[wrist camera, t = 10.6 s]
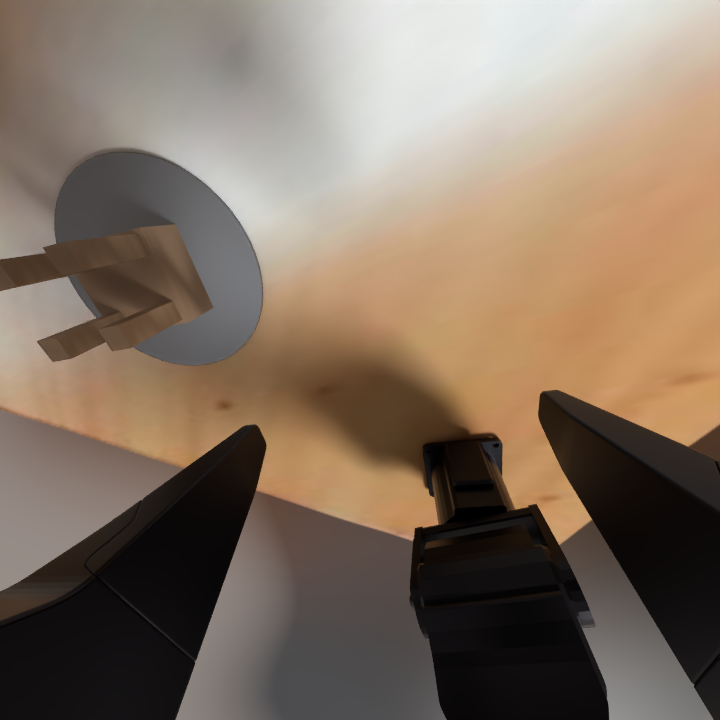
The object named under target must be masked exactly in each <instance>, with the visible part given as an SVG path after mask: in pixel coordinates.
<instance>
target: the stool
mask: <svg viewBox="0 0 720 720" xmlns="http://www.w3.org/2000/svg"><path fill="white" fill-rule="evenodd" d="M43 249H44V250H45V252H46V253H44V254H37V255H30V256H23V257H16V258H9V259H1V260H0V291H2V290H7V289H11V288H16V287H21V286H25V285H30V284H34V283H39V282H43V281H48V280H52V279H57V278H61V277H66V276H70V275H75V276H76V277H77V279H78V280H79V282H80V283H81V285H82V287H83V288H84V290H85V291H86V293H87V294H88V296H89V297H90V299H91V300H92V302H93V303H94V305H95V307H96V308H97V310H98V311H99V313H100V314H101V317H99V318H96V319H94V320H91V321H88V322H86V323H83V324H81V325H78V326H75V327H73V328H70V329H68V330H65V331H63V332H60V333H57V334H55V335H52V336H50V337H47V338H44V339H42V340H39V341H37V342H38V344H39V345H40V346H41V347H42V349H43V350H44V351H45V353H46V354H47V355H48V356H49V358H50V359H51V360H52V361H53V362H55V361H61V360H66V359H71V358H73V357H75V356H78V355H80V354H82V353H84V352H86V351H88V350H90V349H92V348H94V347H96V346H98V345H100V344H102V343H104V342H106V343H107V344H108V346H109V347H110V349H111V350H112V351H116V350H121V349H127V348H132V347H134V346H136V345H138V344H139V343H141V342H143V341H145V340H147V339H148V338H150V337H152V336H154V335H156V334H157V333H159V332H161V331H163V330H165V329H166V328H168V327H170V326H173V325H178V324H184V323H188V322H190V321H192V320H193V319H195V318H197V317H199V316H200V315H202V314H204V313H205V312H207V311H209V310H211V309H212V308H214V307H213V305H212V303H211V301H210V298H209V296H208V294H207V292H206V290H205V287H204V285H203V283H202V281H201V279H200V277H199V274H198V272H197V270H196V268H195V266H194V263H193V261H192V259H191V257H190V255H189V253H188V250H187V248H186V246H185V244H184V242H183V239H182V237H181V235H180V233H179V231H178V229H177V226H176V224H172V225H161V226H150V227H139V228H135V229H132V230H128V231H124V232H120V233H117V234H113V235H109V236H105V237H102V238H93V239H84V240H75V241H66V242H62V243H58V244H55V245H51V246H47V247H43Z"/></svg>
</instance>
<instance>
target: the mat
mask: <svg viewBox="0 0 720 720" xmlns="http://www.w3.org/2000/svg"><path fill="white" fill-rule="evenodd" d="M172 224H176V226H177V229H178V231H179V233H180V235H181V237H182V239H183V242H184V244H185V246H186V248H187V250H188V253H189V255H190V257H191V259H192V261H193V263H194V266H195V268H196V270H197V272H198V274H199V277H200V279H201V281H202V283H203V285H204V287H205V290H206V292H207V294H208V296H209V298H210V301H211V303H212V305H213V307H214V308H212V309H211V310H209V311H207V312H205V313H204V314H202V315H200V316H199V317H197V318H195V319H193V320H192V321H190V322H188V323H184V324H178V325H173V326H170V327H168V328H166V329H165V330H163V331H161V332H159V333H157V334H156V335H154V336H152V337H150V338H148V339H147V340H145V341H143V342H141V343H139V344H138V345H136V346H134V348H135V349H137V350H139V351H141V352H143V353H145V354H147V355H149V356H151V357H154V358H157V359H160V360H162V361H166V362H170V363H174V364H181V365H206V364H211V363H215V362H218V361H221V360H223V359H226V358H227V357H229V356H231V355H232V354H234V353H235V352H236V351H238V350H239V349H240V348H241V347H242V346H243V345H244V344H245V343H246V342H247V341H248V340H249V338H250V337H251V335H252V334H253V332H254V330H255V329H256V326H257V324H258V321H259V319H260V314H261V310H262V303H263V283H262V277H261V271H260V267H259V263H258V260H257V257H256V254H255V251H254V249H253V246H252V244H251V242H250V240H249V238H248V236H247V234H246V232H245V230H244V229H243V227H242V225H241V224H240V222H239V221H238V219H237V218H236V217H235V215H234V214H233V212H232V211H231V210H230V209H229V207H228V206H227V205H226V204H225V203H224V202H223V201H222V199H221V198H220V197H219V196H218V195H217V194H216V193H214V192H213V191H212V190H211V189H210V188H209V187H208V186H207V185H206V184H204V183H203V182H202V181H200V180H199V179H198V178H196V177H195V176H194V175H192V174H190V173H189V172H187V171H185V170H184V169H182V168H180V167H179V166H176V165H174V164H172V163H169V162H167V161H165V160H162V159H159V158H155V157H152V156H148V155H144V154H138V153H130V152H113V153H107V154H103V155H98V156H96V157H94V158H91V159H89V160H87V161H85V162H84V163H82V164H81V165H80V166H78V167H77V168H76V169H75V170H74V171H73V172H72V173H71V174H70V175H69V177H68V178H67V179H66V181H65V183H64V185H63V186H62V188H61V190H60V193H59V196H58V199H57V203H56V209H55V235H56V242H57V244H58V243H62V242H66V241H75V240H84V239H93V238H102V237H105V236H109V235H113V234H117V233H120V232H124V231H128V230H132V229H135V228H139V227H150V226H161V225H172ZM68 277H69V279H70V281H71V283H72V285H73V286H74V288H75V290H76V291H77V293H78V295H79V296H80V297H81V299H82V300H83V302H84V303H85V304H86V306H87V307H88V308H89V309H90V311H91V312H92V313H93V314H94V315H95V316H96V318H99V317H101V314H100V313H99V311H98V310H97V308H96V307H95V305H94V303H93V302H92V300H91V299H90V297H89V296H88V294H87V293H86V291H85V290H84V288H83V287H82V285H81V283H80V282H79V280H78V279H77V277H76V276H75V275H70V276H68Z"/></svg>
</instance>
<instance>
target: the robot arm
mask: <svg viewBox="0 0 720 720" xmlns="http://www.w3.org/2000/svg"><path fill="white" fill-rule="evenodd" d="M538 417H539V421H540V423H541V425H542V428H543V430H544V432H545V434H546V436H547V438H548V441H549V443H550V445H551V447H552V449H553V451H554V454H555V456H556V458H557V460H558V462H559V464H560V466H561V468H562V470H563V472H564V474H565V475H566V477H567V479H568V480H569V482H570V484H571V485H572V487H573V489H574V490H575V492H576V493H577V495H578V497H579V498H580V500H581V502H582V503H583V505H584V507H585V508H586V510H587V512H588V513H589V515H590V516H591V518H592V520H593V521H594V523H595V525H596V526H597V528H598V530H599V531H600V533H601V535H602V536H603V538H604V539H605V541H606V543H607V544H608V546H609V548H610V549H611V551H612V553H613V554H614V556H615V558H616V559H617V561H618V562H619V564H620V565H621V567H622V569H623V571H624V572H625V574H626V575H627V577H628V579H629V580H630V582H631V584H632V585H633V587H634V589H635V590H636V592H637V593H638V595H639V596H640V599H641V600H642V602H643V604H644V605H645V607H646V608H647V610H648V612H649V613H650V615H651V617H652V618H653V620H654V622H655V623H656V625H657V627H658V628H659V630H660V631H661V633H662V635H663V636H664V638H665V640H666V641H667V643H668V645H669V646H670V648H671V649H672V651H673V653H674V654H675V656H676V658H677V659H678V661H679V663H680V664H681V666H682V667H683V669H684V671H685V672H686V674H687V676H688V677H689V679H690V681H691V682H692V683H693V684H695V685H694V688H695V689H696V691H697V693H698V694H699V696H700V698H701V699H702V701H703V703H704V704H705V706H706V708H707V709H708V711H709V712H710V714H711V716H712V717H713V719H714V720H720V461H719V460H717V461H715V459H714V458H712V457H710V456H708V455H706V454H703V453H701V452H699V451H697V450H694V449H692V448H690V447H687V446H685V445H683V444H681V443H678V442H676V441H674V440H671V439H669V438H667V437H664V436H662V435H660V434H658V433H655V432H653V431H651V430H648V429H646V428H644V427H642V426H639V425H637V424H635V423H632V422H630V421H628V420H626V419H623V418H621V417H619V416H616V415H614V414H612V413H609V412H607V411H605V410H603V409H600V408H598V407H596V406H593V405H591V404H589V403H587V402H584V401H582V400H580V399H577V398H575V397H573V396H571V395H568V394H566V393H564V392H561V391H559V390H550V391H543V392H542V393H541V394H540V399H539V411H538ZM495 443H497V444H495ZM422 449H423V456H424V462H425V469H426V475H427V482H428V488H429V494H430V496H432V497H434V498H435V504H436V510H437V517H438V523H439V525H435V526H430V527H425V528H423V527H418V528H415V535H414V539H413V552H412V565H411V579H410V592H411V593H410V605H411V607H412V608H413V610H414V611H415V612H416V616H417V620H418V623H419V626H420V629H421V631H422V633H423V635H424V637H425V638H426V639H427V640H428V641H429V642H430V647H431V651H432V657H433V663H434V670H435V676H436V683H437V690H438V696H439V702H440V706H441V709H442V711H443V713H444V715H445V717H446V719H447V720H609V708H608V701H607V690H606V685H605V682H604V679H603V677H602V674H601V672H600V670H599V667H598V665H597V663H596V660H595V658H594V656H593V653H592V651H591V649H590V646H589V644H588V642H587V639H586V637H585V635H584V632H583V630H582V628H590V627H595V623H594V620H593V617H592V614H591V612H590V610H589V607H588V604H587V602H586V600H585V597H584V595H583V593H582V591H581V588H580V586H579V584H578V582H577V580H576V578H575V575H574V573H573V571H572V569H571V567H570V565H569V563H568V561H567V559H566V557H565V555H564V554H563V552H562V550H561V548H560V546H559V544H558V542H557V541H556V539H555V537H554V535H553V533H552V532H551V530H550V528H549V526H548V524H547V522H546V521H545V519H544V517H543V515H542V513H541V511H540V510H539V508H538V506H537V504H534V505H529V506H528V507H526V508H521V509H516V510H515V508H514V505H513V503H512V500H511V498H510V496H509V493H508V491H507V488H506V486H505V484H504V481H503V479H502V442H501V440H500V439H499V438H484V439H474V440H463V441H452V442H441V443H430V444H425V445H424V446H423V448H422ZM427 449H430V450H427ZM265 452H266V442H265V439H264V437H263V435H262V433H261V431H260V429H259V427H258V426H257V425H255V424H254V425H246V426H243V427H242V428H240V429H239V430H238V431H236V432H235V433H234V434H232V435H231V436H229V437H228V438H227V439H225V440H224V441H222V442H221V443H220V444H218V445H217V446H215V447H214V448H213V449H211V450H210V451H208V452H207V453H206V454H204V455H203V456H202V457H200V458H199V459H197V460H196V461H195V462H193V463H192V464H190V465H189V466H188V467H186V468H185V469H183V470H182V471H181V472H179V473H178V474H177V475H175V476H174V477H172V478H171V479H170V480H168V481H167V482H165V483H164V484H163V485H162V486H160V487H158V488H157V489H156V490H154V491H153V492H151V493H150V494H149V495H147V496H146V497H145V498H144V499H143V500H140V501H139V502H138V503H136V504H135V505H133V506H132V507H131V508H129V509H128V510H126V511H125V512H124V513H122V514H121V515H119V516H118V517H116V518H115V519H113V520H112V521H111V522H109V523H108V524H106V525H105V526H103V527H102V528H100V529H99V530H98V531H96V532H94V533H93V534H91V535H90V536H88V537H87V538H85V539H84V540H82V541H81V542H79V543H78V544H76V545H75V546H73V547H72V548H70V549H69V550H67V551H66V552H64V553H63V554H61V555H60V556H58V557H57V558H55V559H54V560H52V561H51V562H49V563H48V564H46V565H45V566H43V567H41V568H40V569H38V570H37V571H36V572H34V573H32V574H31V575H29V576H28V577H26V578H25V579H23V580H21V581H20V582H18V583H16V584H14V585H12V586H11V587H9V588H7V589H5V590H2V591H0V720H175V719H176V717H177V714H178V711H179V708H180V705H181V702H182V699H183V697H184V694H185V691H186V688H187V685H188V683H189V680H190V677H191V674H192V671H193V668H194V666H195V662H194V661H196V659H197V657H198V654H199V651H200V648H201V645H202V642H203V639H204V637H205V634H206V630H207V628H208V625H209V622H210V620H211V617H212V614H213V611H214V608H215V605H216V603H217V600H218V597H219V594H220V591H221V588H222V585H223V583H224V580H225V577H226V574H227V571H228V569H229V566H230V563H231V560H232V557H233V554H234V552H235V549H236V546H237V543H238V540H239V537H240V534H241V532H242V529H243V526H244V523H245V520H246V517H247V515H248V511H249V509H250V506H251V503H252V500H253V498H254V495H255V491H256V488H257V484H258V480H259V476H260V472H261V468H262V464H263V460H264V456H265Z"/></svg>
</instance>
